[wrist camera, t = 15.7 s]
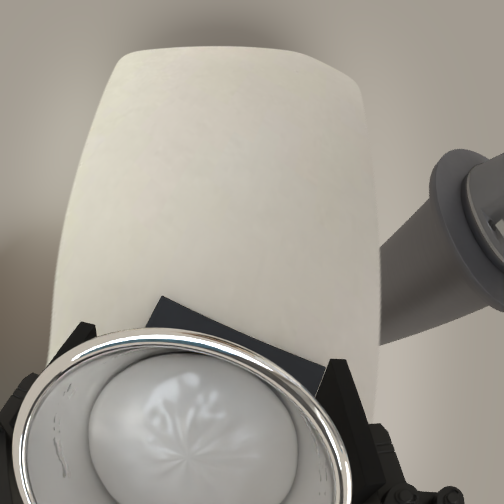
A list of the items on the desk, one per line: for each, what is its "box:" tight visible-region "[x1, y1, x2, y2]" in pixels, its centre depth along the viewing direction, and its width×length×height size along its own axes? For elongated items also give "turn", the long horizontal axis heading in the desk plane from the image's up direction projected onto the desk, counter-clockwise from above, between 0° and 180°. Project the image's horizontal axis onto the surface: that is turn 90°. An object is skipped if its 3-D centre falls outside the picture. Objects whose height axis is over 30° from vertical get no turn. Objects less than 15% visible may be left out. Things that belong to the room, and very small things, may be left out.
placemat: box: [145, 296, 326, 397], centre depth 18 cm, size 12×12×1 cm
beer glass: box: [12, 328, 352, 504], centre depth 11 cm, size 7×7×15 cm
